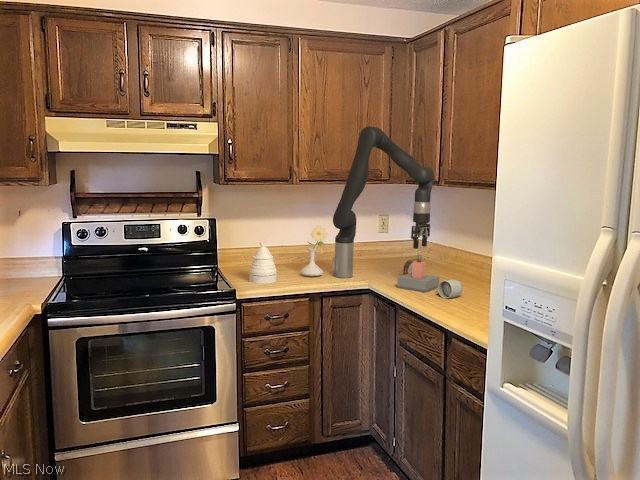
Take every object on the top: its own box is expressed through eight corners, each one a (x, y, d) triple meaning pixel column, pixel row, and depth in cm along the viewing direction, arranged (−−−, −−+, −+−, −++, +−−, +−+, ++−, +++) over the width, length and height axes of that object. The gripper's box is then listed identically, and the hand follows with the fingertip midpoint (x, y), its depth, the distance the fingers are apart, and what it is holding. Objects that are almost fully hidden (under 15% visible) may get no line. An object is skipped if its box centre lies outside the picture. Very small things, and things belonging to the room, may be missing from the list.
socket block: (397, 287, 244) (397, 277, 243) (411, 282, 255) (411, 272, 254) (425, 292, 236) (426, 281, 235) (438, 287, 247) (439, 276, 246)
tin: (417, 273, 278) (417, 257, 277) (422, 274, 276) (423, 258, 275) (402, 278, 266) (402, 261, 265) (407, 279, 264) (408, 262, 263)
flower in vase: (297, 277, 263) (298, 226, 260) (303, 272, 274) (304, 224, 271) (323, 278, 260) (324, 227, 257) (328, 274, 271) (329, 225, 268)
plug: (411, 285, 245) (412, 255, 243) (416, 283, 248) (417, 254, 247) (420, 287, 242) (421, 256, 240) (424, 285, 246) (426, 255, 244)
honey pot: (246, 278, 258) (246, 241, 255) (272, 277, 262) (272, 240, 260) (253, 284, 246) (253, 245, 243) (280, 282, 250) (280, 244, 248)
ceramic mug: (463, 297, 228) (464, 279, 227) (451, 300, 223) (452, 282, 222) (443, 293, 236) (444, 276, 236) (431, 295, 231) (432, 278, 231)
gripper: (421, 210, 249) (419, 244, 251) (406, 212, 237) (405, 248, 239) (436, 211, 244) (434, 246, 246) (422, 213, 233) (420, 250, 235)
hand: (419, 247), depth 243 cm, fingers open, 8 cm apart
